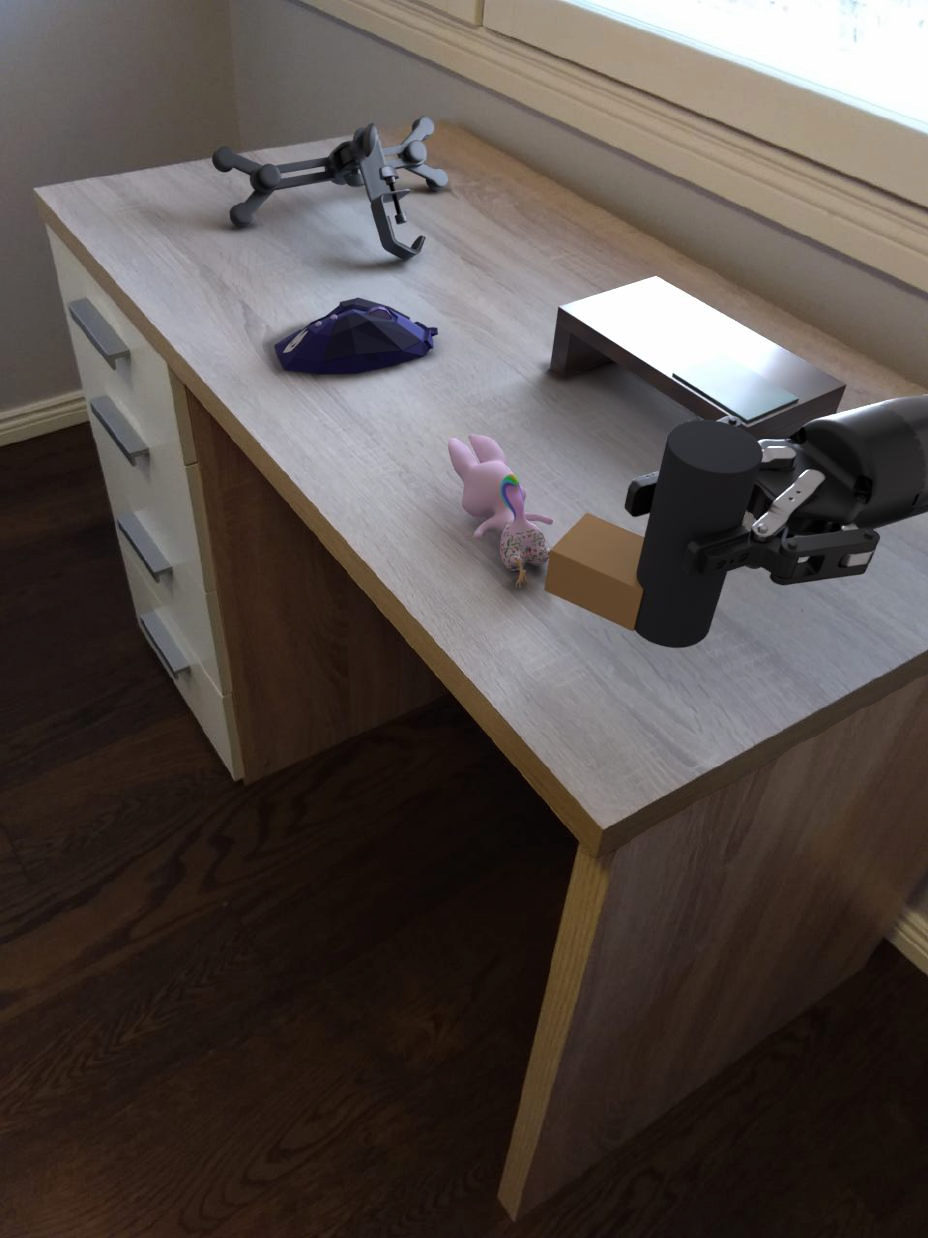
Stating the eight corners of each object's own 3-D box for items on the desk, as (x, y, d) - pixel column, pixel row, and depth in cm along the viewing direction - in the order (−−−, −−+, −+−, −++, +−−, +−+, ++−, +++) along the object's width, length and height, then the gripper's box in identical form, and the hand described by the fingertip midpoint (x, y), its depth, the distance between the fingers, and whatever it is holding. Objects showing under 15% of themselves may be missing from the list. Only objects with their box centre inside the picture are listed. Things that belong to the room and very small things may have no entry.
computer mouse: (267, 329, 95) (264, 288, 92) (421, 314, 98) (423, 275, 96) (286, 381, 88) (283, 339, 86) (449, 363, 92) (452, 323, 89)
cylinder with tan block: (722, 613, 65) (777, 440, 56) (689, 660, 62) (741, 485, 53) (580, 550, 69) (610, 379, 60) (542, 592, 65) (567, 417, 56)
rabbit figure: (573, 587, 73) (494, 446, 81) (591, 532, 69) (506, 387, 77) (493, 606, 71) (421, 459, 79) (506, 550, 67) (428, 400, 75)
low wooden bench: (824, 446, 86) (848, 382, 82) (728, 491, 81) (748, 425, 76) (643, 334, 98) (656, 273, 94) (549, 367, 93) (558, 304, 89)
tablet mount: (464, 261, 123) (426, 117, 119) (526, 229, 110) (486, 68, 107) (257, 308, 111) (208, 151, 108) (301, 279, 99) (247, 100, 95)
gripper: (821, 356, 66) (599, 408, 60) (994, 477, 57) (754, 554, 51) (789, 453, 71) (582, 510, 65) (943, 578, 62) (719, 659, 56)
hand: (659, 529), depth 58 cm, fingers closed on cylinder with tan block, 5 cm apart
